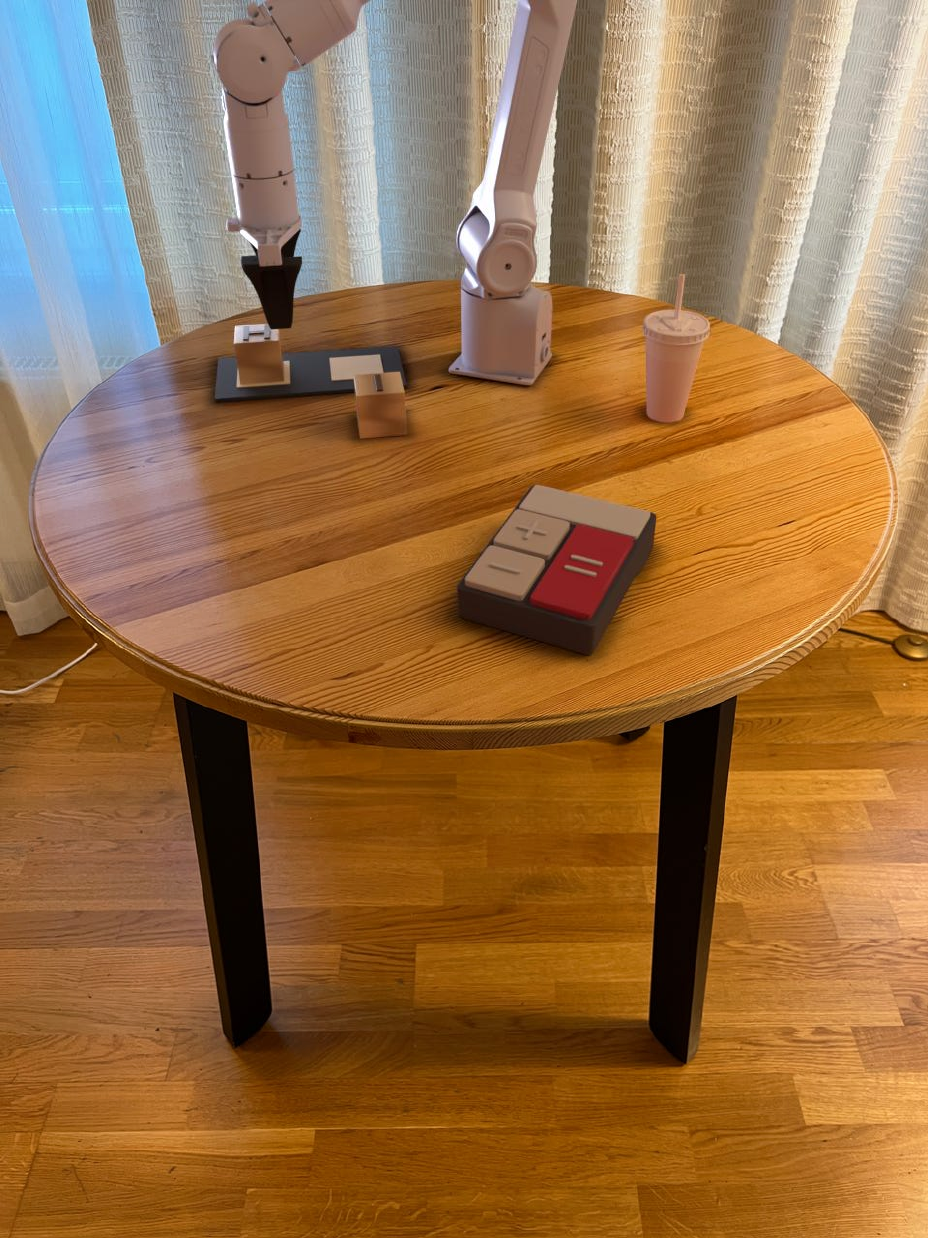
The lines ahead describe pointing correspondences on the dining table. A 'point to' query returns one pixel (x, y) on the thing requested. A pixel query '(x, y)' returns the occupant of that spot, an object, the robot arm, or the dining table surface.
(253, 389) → the word mat
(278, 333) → the letter block h
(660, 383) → the smoothie
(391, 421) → the letter block i
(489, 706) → the dining table surface
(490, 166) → the robot arm
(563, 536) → the calculator
